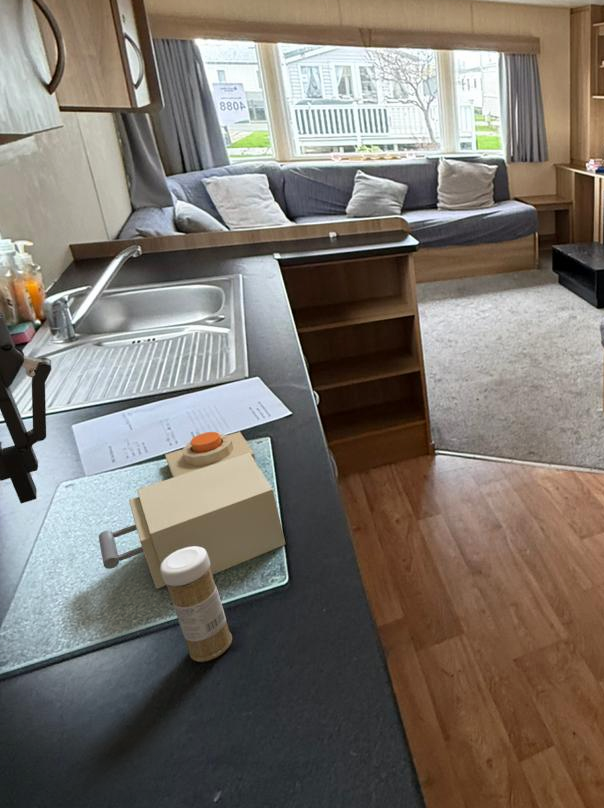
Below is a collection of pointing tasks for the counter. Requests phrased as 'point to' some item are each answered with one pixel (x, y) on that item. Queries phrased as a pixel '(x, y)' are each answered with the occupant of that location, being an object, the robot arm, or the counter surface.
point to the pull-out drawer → (148, 548)
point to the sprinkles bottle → (196, 602)
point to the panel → (207, 455)
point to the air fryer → (214, 513)
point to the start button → (206, 442)
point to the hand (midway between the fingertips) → (28, 496)
